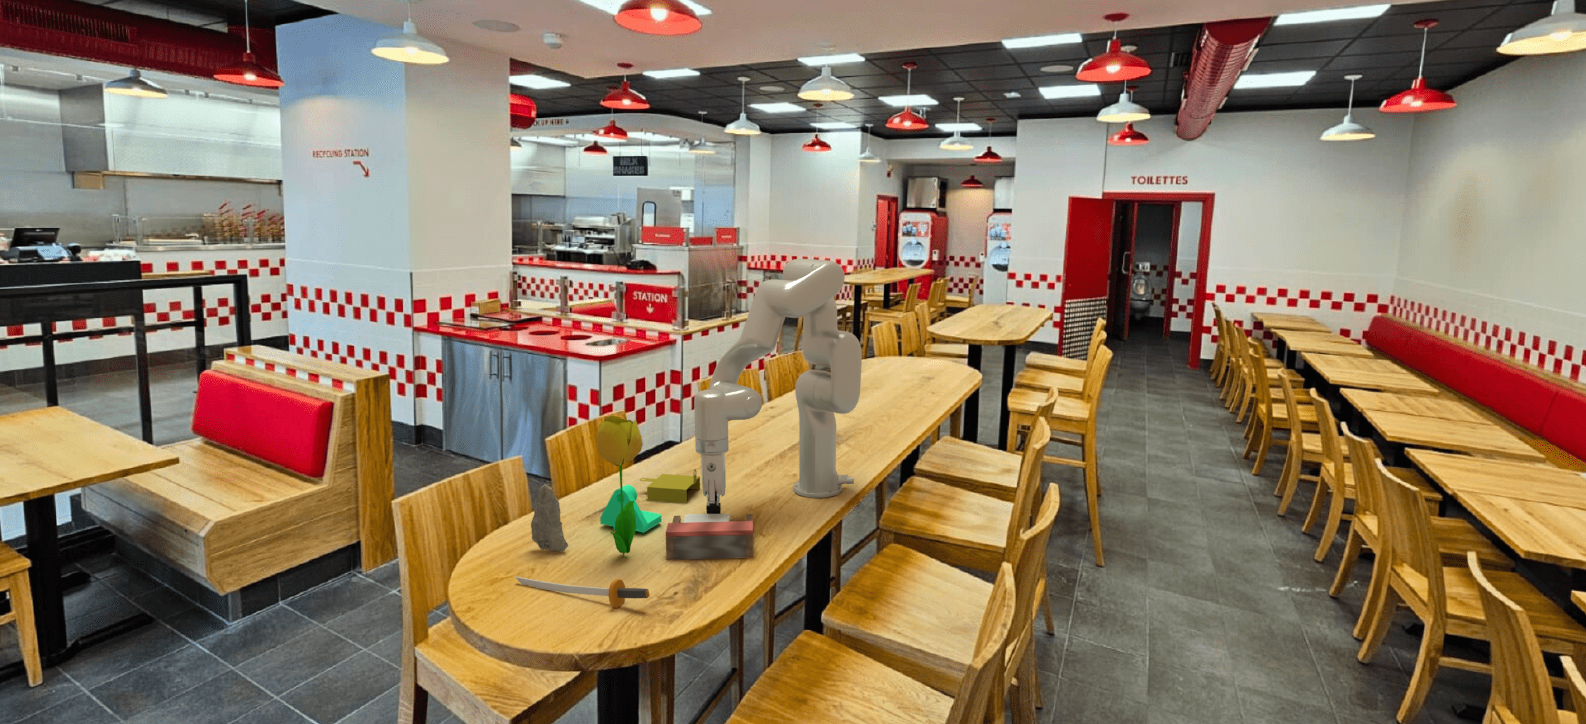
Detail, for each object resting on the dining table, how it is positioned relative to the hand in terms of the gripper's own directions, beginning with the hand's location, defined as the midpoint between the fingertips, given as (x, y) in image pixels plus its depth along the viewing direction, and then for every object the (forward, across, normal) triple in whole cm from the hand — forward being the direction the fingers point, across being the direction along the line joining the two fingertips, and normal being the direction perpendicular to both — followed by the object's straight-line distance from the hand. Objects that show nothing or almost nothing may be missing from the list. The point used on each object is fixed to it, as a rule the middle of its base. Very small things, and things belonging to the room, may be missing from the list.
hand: (713, 520), depth 183 cm
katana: (+1, -35, +23) cm, 42 cm away
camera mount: (+1, -1, +19) cm, 19 cm away
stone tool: (+1, -14, +34) cm, 36 cm away
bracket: (+2, +20, +13) cm, 24 cm away
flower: (+1, -17, +18) cm, 25 cm away
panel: (+1, -10, +2) cm, 10 cm away
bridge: (+1, -10, 0) cm, 10 cm away
